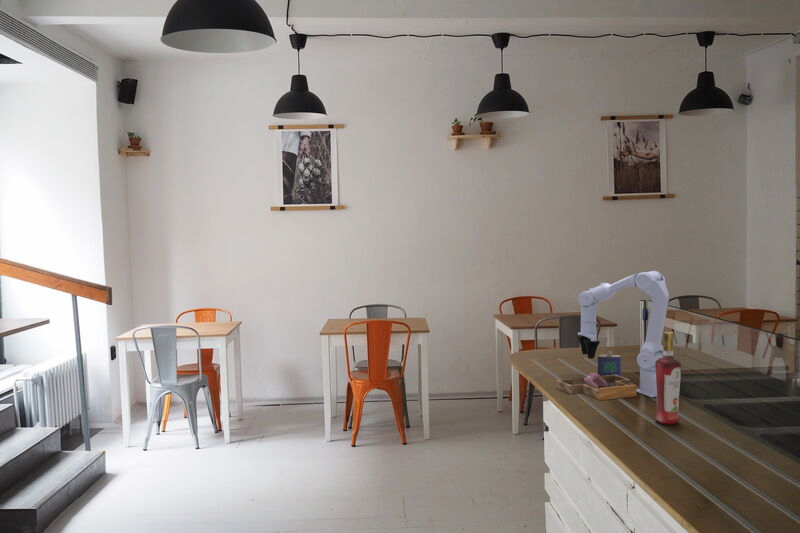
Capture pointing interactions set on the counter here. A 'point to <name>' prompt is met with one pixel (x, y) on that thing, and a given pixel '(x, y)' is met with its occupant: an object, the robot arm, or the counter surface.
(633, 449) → the counter surface
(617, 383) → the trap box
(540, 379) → the counter surface
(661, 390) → the liquor
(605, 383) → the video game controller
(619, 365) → the flask
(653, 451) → the counter surface
